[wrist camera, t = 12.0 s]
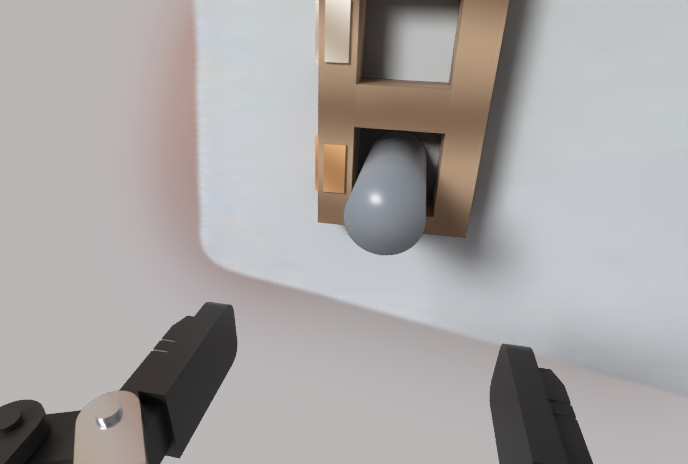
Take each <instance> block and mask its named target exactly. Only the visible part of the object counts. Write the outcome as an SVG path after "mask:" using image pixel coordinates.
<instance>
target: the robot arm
mask: <svg viewBox="0 0 688 464" xmlns="http://www.w3.org/2000/svg"><path fill="white" fill-rule="evenodd" d="M236 352H237V335H236V326H235V318H234V310H233V307H232V306H231V305H227V304H220V303H214V302H206V303H205V304H204V305H203V306H202V308H201V309H200V310H199V312H198V313H197V314H196V315H195V317H192V316H187V317H185V318H184V319H182V320H181V321H179V322H177V323H176V324H174V325H173V326H172V327H171V328H170V330H169V331H168V332H167V333H166V334H165V336H164V337H163V338H162V341H159V343H158V344H157V345H156V346H155V348H154V350H153V351H151V352H150V354H149V355H148V356H147V357H146V359H145V360H144V361H143V362H142V363H141V365H140V366H139V367H138V368H137V369H136V371H135V372H134V373H133V374H132V376H131V377H130V378H129V379H128V380H127V382H126V383H125V384H124V385H123V387H122V388H121V389H120V390H119V391H113V392H109V393H106V394H103V395H101V396H99V397H97V398H95V399H94V400H92V401H91V402H90V403H88V404H87V405H86V406H85V407H84V408H83V409H82V410H80V411H73V412H64V413H56V414H46V413H45V411H44V408H43V407H42V405H41V404H40V403H39V402H37V401H33V400H19V401H15V402H12V403H9V404H6V405H4V406H2V407H0V464H160V463H161V461H162V460H163V458H164V456H165V455H166V456H171V457H176V458H180V457H181V455H182V453H183V452H184V450H185V448H186V446H187V444H188V443H189V441H190V439H191V437H192V435H193V434H194V432H195V430H196V428H197V427H198V425H199V423H200V421H201V419H202V417H203V416H204V414H205V412H206V410H207V409H208V407H209V405H210V403H211V402H212V400H213V398H214V396H215V394H216V393H217V391H218V389H219V387H220V385H221V384H222V382H223V380H224V378H225V376H226V375H227V373H228V371H229V369H230V367H231V366H232V364H233V362H234V359H235V356H236ZM490 407H491V412H492V419H493V426H494V432H495V438H496V444H497V451H498V457H499V463H500V464H593V462H592V459H591V457H590V454H589V451H588V449H587V446H586V443H585V440H584V438H583V435H582V432H581V430H580V427H579V424H578V422H577V420H576V419H575V418H576V416H575V413H574V411H573V408H572V406H570V400H569V397H568V394H567V392H566V389H565V386H564V385H563V383H562V382H561V381H560V380H559V379H558V378H557V376H556V375H555V374H554V373H553V372H552V370H550V369H544V368H538V365H537V362H536V359H535V356H534V353H533V350H532V348H530V347H524V346H517V345H509V344H502V345H501V347H500V351H499V355H498V358H497V362H496V366H495V369H494V373H493V377H492V381H491V386H490Z"/></svg>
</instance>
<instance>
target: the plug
mask: <svg viewBox="0 0 688 464" xmlns="http://www.w3.org/2000/svg"><path fill="white" fill-rule="evenodd" d="M344 223H345V227H346V230H347V232H348V234H349V236H350V237H351V238H352V240H353V241H354V242H355V243H356V244H357V245H358V246H360V247H361V248H363V249H364V250H366V251H368V252H371V253H374V254H379V255H394V254H398V253H402V252H404V251H406V250H408V249H409V248H411V247H412V246H413V245H415V244H416V243H417V241H418V240H419V239H420V237H421V236H422V234H423V231H424V228H425V223H426V152H425V149H424V147H423V145H422V144H421V142H420V141H419V140H418V139H417V138H416V137H414V136H413V135H411V134H409V133H406V132H401V131H394V132H389V133H386V134H384V135H382V136H381V137H380V138H378V139H377V140H376V141H375V143H374V144H373V146H372V147H371V150H370V152H369V154H368V156H367V159H366V161H365V163H364V165H363V168H362V170H361V172H360V174H359V177H358V179H357V181H356V183H355V185H354V188H353V190H352V192H351V194H350V197H349V199H348V201H347V204H346V206H345V210H344Z"/></svg>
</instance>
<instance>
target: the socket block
mask: <svg viewBox="0 0 688 464" xmlns="http://www.w3.org/2000/svg"><path fill="white" fill-rule="evenodd" d="M366 2H367V0H316V64H319V91H318V135H317V136H316V171H315V190H318V222H321V223H330V224H339V225H345V223H344V210H345V206H346V204H347V201H348V199H349V197H350V194H351V192H352V190H353V188H354V185H355V183H356V181H357V179H358V165H359V145H360V127H361V128H375V129H389V130H402V131H416V132H430V133H442V138H441V145H440V152H439V159H438V167H437V174H436V181H435V188H434V196H433V200H427V199H426V223H425V228H424V231H423V233H425V234H434V235H443V236H453V237H462V238H466V233H467V227H468V222H469V217H470V211H471V206H472V200H473V195H474V189H475V184H476V179H477V173H478V168H479V162H480V157H481V151H482V146H483V141H484V135H485V130H486V124H487V119H488V113H489V108H490V103H491V97H492V92H493V86H494V81H495V75H496V70H497V65H498V59H499V54H500V48H501V43H502V37H503V32H504V27H505V21H506V16H507V10H508V5H509V0H460V7H459V14H458V22H457V29H456V36H455V43H454V51H453V58H452V65H451V72H450V80H449V83H442V82H424V81H406V80H388V79H370V78H363V63H364V43H365V23H366Z"/></svg>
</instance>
